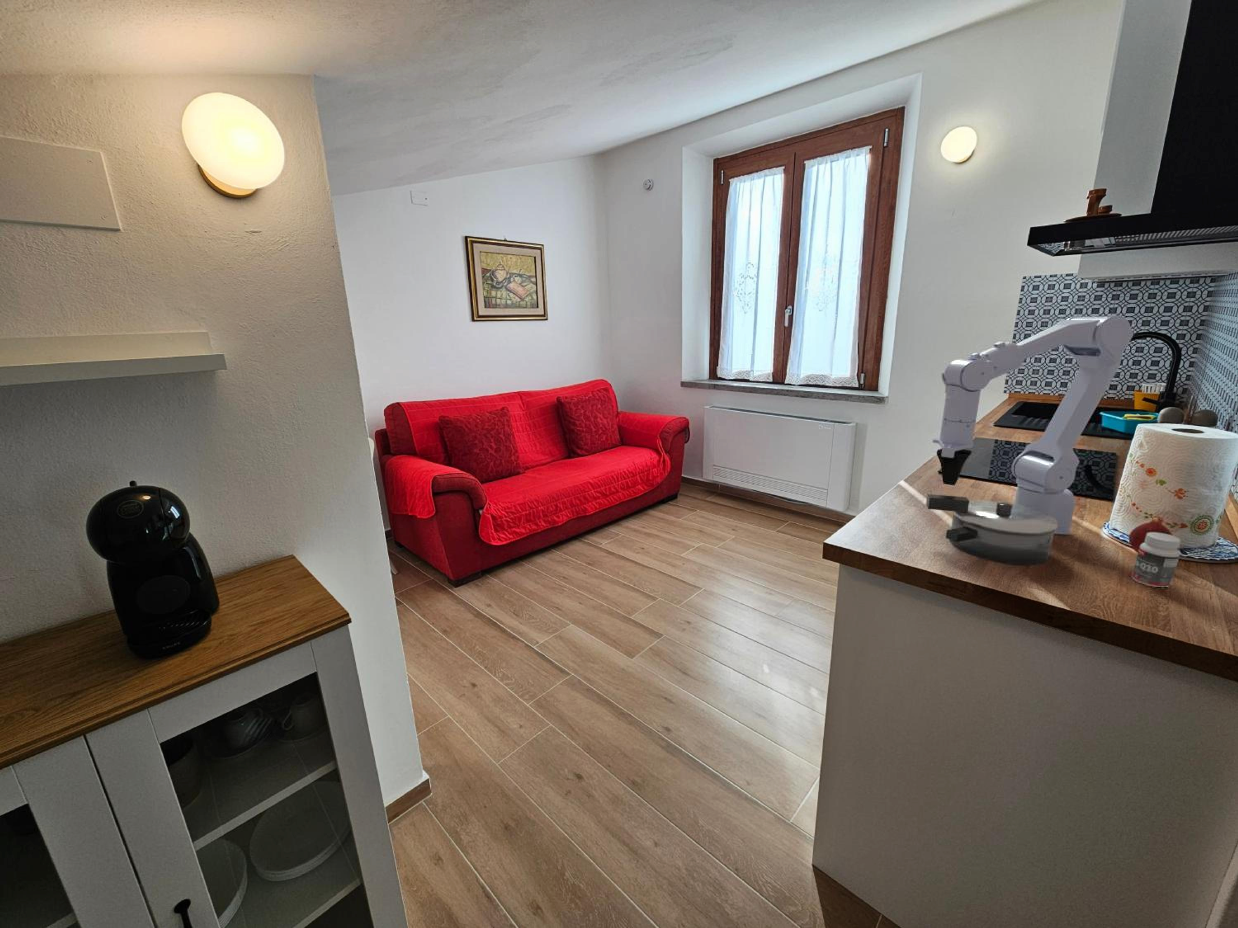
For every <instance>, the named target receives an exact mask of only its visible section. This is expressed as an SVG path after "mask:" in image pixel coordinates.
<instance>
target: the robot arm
mask: <svg viewBox="0 0 1238 928" xmlns="http://www.w3.org/2000/svg"><path fill="white" fill-rule="evenodd" d="M1132 329H1133V328H1131V324H1130V323H1129V320H1128V319H1127V318H1126V317H1124V316H1122V315H1109V316H1081V315H1074V316H1071V317H1069V318H1067V319H1063V320H1060V321H1057V322H1056V324H1055V325H1053V326H1050V327H1049V328H1046V329H1044V330H1042V331H1041V332H1038V333H1036V334H1033V335H1032V336H1030V337H1027V338H1026V339H1023V340H1022V341H1019V342H1017V343H1014V342H1010V341H997V342H995V343H993V347H991V348H988V349H986V350H984V351H981V352H974V353H971V354H970V356H969V357H968V359H960V358H959V359H954V360H953V361H951V362H950V363H949V364H948V365H947V366H946V368H945V370H944V372H942V373H941V380H942V382H943V383H942V384H944V387H945V391H944V393H946V394H945V399H944V406H943V414H942V420H941V421H942V422H941V429H940V435H939V437H934V438H933V439H932V443H934V444H938V445H939V446H940V449H937V451H936V456H937V458H938V461H939V464H940V469H941V478H942V483H943V485H947V486H948V485H949V486H955V485H956V484H957V483H958V480H959V477H960V475H961V473H962V469H963V467H964V465H965V463H966V462H967V460H968V459H969V457H970V456H971V455H972V453H973V451H972V450H970V448H973V447H974V441H973V440H974V434H975V428H976V423H977V422H976V421H977V416H978V410H979V404H980V397H981V390H983V389H985V388H986V387H987V386H988V385H989V383H990V381H992V380H993V379H997V378H999V377H1001V376H1003V375H1006V374H1008V373H1010V372H1013V371H1015V370H1018V369H1020V368H1021V367H1022V365H1023V364H1024V360H1027V359H1029V358H1032V357H1034V356H1037V355H1039V354H1043V353H1045V352H1048V351H1051V350H1053V349H1056V348H1059V347H1063V349H1064V350H1065V351H1066V353H1068V354H1069V355H1070V356H1071V357H1072V358H1073V359H1074V360H1075V361H1076V362H1077V364H1078V366H1079V369H1078V371H1077V372H1076V375H1075V376H1074V378H1073V380H1072V382H1071V384H1070V385H1069V387H1068V389H1067V391H1066V393H1065V394H1064V396H1063V398H1062V400H1061V402H1060V404H1059V405H1058V407H1057V409H1056V411H1055V412H1054V414H1053V415H1052V416H1053V417H1052V418H1051V420H1050V422H1049V424H1048V425H1047V427H1046V429H1045V430H1044V432H1043V435H1042V436H1041V438H1040V439H1038V440H1035V441H1033V442H1031V443H1029V444H1027V445H1026V447H1025V448H1024V449H1023V451H1022V452H1021V453H1020V454H1019V455H1018V456H1016V457H1015V459H1014V460H1013V462H1012V464H1011V473H1012V475H1013V476H1014V477H1015V478H1016V480H1015V484H1017V487H1016V492H1015V498H1014V503H1013V504H1016V505H1021V506H1025V507H1029V508H1032V509H1036V510H1038V511H1041V512H1044V513H1046V514H1048V515H1050V516H1052V517H1053V518H1055V519H1056V520H1057V522H1058V526H1057V529H1056V531H1054V535H1069V536H1070V535H1072V532H1071V531H1070V529H1071V524H1072V520H1073V516H1074V511H1075V507H1076V506H1075V504H1076V502H1075V496H1074V493H1073V492H1072V491H1071V490H1069V489H1068V488H1069V487H1071V486H1072V484H1073V483H1074V480H1075V477H1076V470H1077V467H1078V465H1079V464H1080V460H1079V458H1078V456H1077V454H1076V453H1075V451H1074V447H1075V445H1076V443H1077V442H1078V440H1079V438H1080V437H1081V435H1082V433H1083V431H1084V430H1085V428H1086V426H1087V424H1088V422H1089V421H1090V419H1091V417H1092V415H1093V414H1094V412H1095V410H1096V408H1097V407H1098V405H1099V403H1100V402H1101V399H1102V398H1103V396H1105V395H1104V394H1105V393H1106V391H1107V389H1108V387H1109V386H1110V384H1111V383H1112V381H1113V379H1114V377H1115V375H1116V374H1117V372H1118V370H1119V369H1120V366H1121V362H1122V358H1123V354H1124V352H1125V350H1126V349H1127V347H1128V345H1129V343H1130V342H1131V340H1132V338H1133V336H1134V332H1133V330H1132ZM1049 457H1050V458H1049ZM1051 457H1052V458H1051Z"/></svg>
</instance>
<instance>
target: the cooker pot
mask: <svg viewBox="0 0 1238 928" xmlns="http://www.w3.org/2000/svg"><path fill="white" fill-rule="evenodd" d="M952 514H953V513H952ZM1054 535H1055V534H1054V532H1052V533H1048V534H1041V535H1022V534H1012V533H1005V532H999V531H994V530H989V529H985V528H981V527H978V526H975V525H972V524H969V523H967V522H965V521H962V520H960V519H959V518H957V517H956V516H955V515H954V514H953V515H952V522H951V527H950V529H947V530H946V533H945V539H947V540H949V542H950V543H951V545H952V546H954V547H955V548H956V549H957V550H959V551H961V552H964V553H966V554H968V555H971V556H973V557H976V558H979V559H983V560H986V561H991V562H995V563H1000V564H1007V565H1015V566H1034V565H1035V566H1036V565H1040V564H1043V563H1045V562H1047V561H1049V557H1050V553H1051V549H1052V543H1053V540H1054V539H1053V538H1054Z"/></svg>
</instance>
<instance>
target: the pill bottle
mask: <svg viewBox="0 0 1238 928" xmlns="http://www.w3.org/2000/svg"><path fill="white" fill-rule="evenodd" d="M1172 535H1173V534H1172ZM1172 535H1169V534H1164V533H1156V532H1150V533H1147V535H1146V538H1145V543H1142V544H1141V545H1140V547H1139V551H1138V553H1137V554H1136V560H1135V563H1134V566H1133V570H1132V573H1131V579H1133V580H1134V581H1135V582H1137V583H1139V584H1141V583H1142V585H1143V584H1145V585H1144V586H1146V585H1148V586H1147V587H1150V586H1155V587H1166V586H1170V585H1172V582H1173V580H1174V576H1175V572H1176V569H1177V565H1178V562H1179V559H1180V556H1181V552H1180V550H1179V548H1180V545H1181V541H1182V540H1181V538H1179V537H1177V536H1175V535H1173V536H1172ZM1155 587H1154V588H1155ZM1170 587H1171V586H1170Z"/></svg>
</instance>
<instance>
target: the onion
mask: <svg viewBox="0 0 1238 928" xmlns="http://www.w3.org/2000/svg"><path fill="white" fill-rule="evenodd" d="M1150 532H1156V533H1164V534H1169V535H1172V536H1174V535H1173V533H1172V531H1171V530H1170V529H1168V527H1166V526H1165V525H1163V524H1162V523H1161V521H1160V519H1159V518H1157V517H1154V518H1152V519H1151V521H1150V522H1149V521H1148V522H1146V523H1145V522H1144V523H1143V524H1139V525H1138V526H1136V527H1135V528H1133V529H1132V530H1131V531H1130V533H1129V535H1128V542H1129V544H1130V546H1131V549H1133V551H1134V552H1136V553H1137V554H1138V551H1139V547H1140V545H1141V544H1142V543H1145V538H1146V535H1147V533H1150Z"/></svg>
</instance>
